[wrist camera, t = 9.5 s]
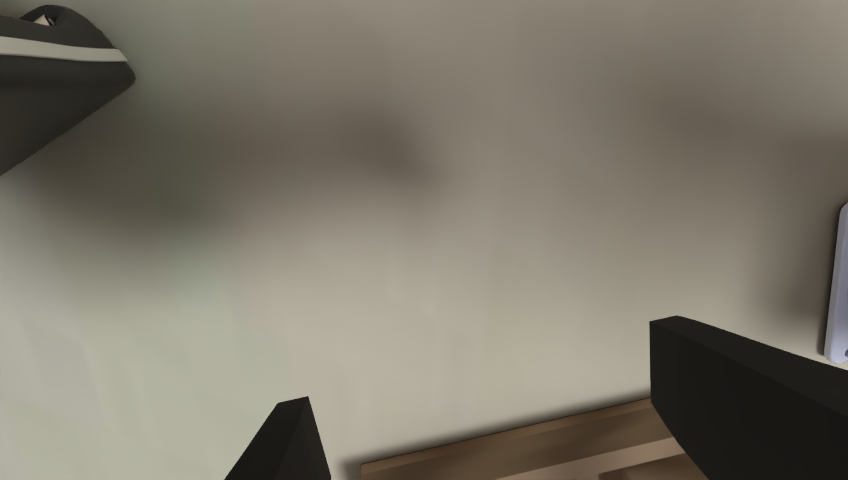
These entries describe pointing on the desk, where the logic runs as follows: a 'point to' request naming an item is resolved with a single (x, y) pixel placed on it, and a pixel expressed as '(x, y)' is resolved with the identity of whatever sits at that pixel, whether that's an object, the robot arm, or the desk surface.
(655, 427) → the slot rack
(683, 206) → the desk surface
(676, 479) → the maple block
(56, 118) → the battery charger
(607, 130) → the desk surface
